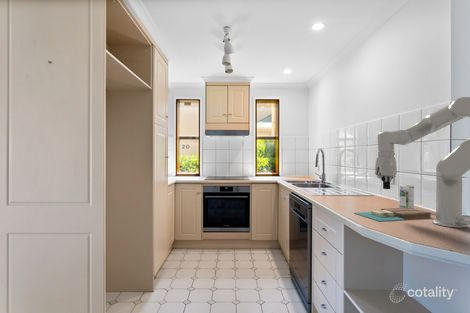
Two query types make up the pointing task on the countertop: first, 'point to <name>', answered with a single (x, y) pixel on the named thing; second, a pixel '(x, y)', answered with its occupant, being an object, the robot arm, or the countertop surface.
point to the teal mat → (369, 215)
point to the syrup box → (406, 196)
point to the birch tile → (382, 213)
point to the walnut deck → (408, 213)
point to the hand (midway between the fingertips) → (386, 188)
